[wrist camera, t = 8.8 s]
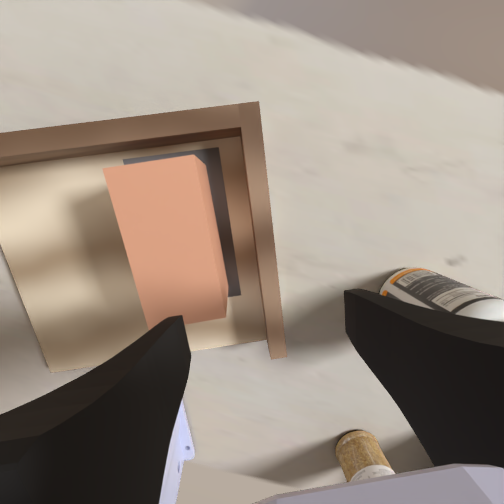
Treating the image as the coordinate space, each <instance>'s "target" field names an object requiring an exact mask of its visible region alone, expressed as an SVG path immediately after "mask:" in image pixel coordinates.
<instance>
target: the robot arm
mask: <svg viewBox="0 0 504 504" xmlns="http://www.w3.org/2000/svg"><path fill="white" fill-rule="evenodd" d="M344 302H345V327H346V333H347V335H348V337H349V339H350V340H351V342H352V344H353V346H354V347H355V349H356V351H357V352H358V353H359V355H360V356H361V357H362V359H363V360H364V361H365V363H366V364H367V365H368V367H369V368H370V369H371V371H372V372H373V373H374V375H375V376H376V377H377V378H378V380H379V381H380V382H381V384H382V385H383V386H384V388H385V389H386V390H387V391H388V393H389V394H390V395H391V397H392V398H393V400H394V401H395V402H396V404H397V405H398V407H399V408H400V410H401V411H402V413H403V415H404V416H405V418H406V419H407V421H408V422H409V424H410V426H411V427H412V429H413V430H414V432H415V434H416V435H417V437H418V439H419V440H420V442H421V444H422V445H423V447H424V449H425V450H426V452H427V454H428V455H429V457H430V459H431V460H432V462H433V464H434V465H435V467H432V468H426V469H421V470H415V471H409V472H403V473H398V474H392V475H386V476H380V477H375V478H369V479H363V480H357V481H352V482H346V483H340V484H335V485H329V486H323V487H317V488H312V489H306V490H300V491H294V492H289V493H283V494H277V495H274V496H271V497H269V498H266V499H263V500H261V501H258V502H255V503H253V504H504V322H501V321H494V320H487V319H480V318H473V317H467V316H462V315H457V314H452V313H447V312H442V311H438V310H433V309H429V308H425V307H422V306H418V305H414V304H410V303H407V302H404V301H400V300H397V299H394V298H390V297H387V296H384V295H381V294H377V293H374V292H370V291H367V290H362V289H352V290H345V291H344ZM190 361H191V352H190V348H189V343H188V338H187V334H186V329H185V325H184V320H183V316H182V315H178V316H171V317H167V318H166V319H164V320H162V321H161V322H160V323H158V324H157V325H156V326H154V327H153V328H152V329H150V330H149V331H148V332H146V333H145V334H144V335H143V336H141V337H140V338H139V339H137V340H136V341H135V342H133V343H132V344H130V345H129V346H128V347H126V348H125V349H123V350H122V351H120V352H119V353H118V354H116V355H115V356H113V357H112V358H110V359H109V360H107V361H106V362H104V363H102V364H101V365H99V366H98V367H96V368H94V369H93V370H91V371H89V372H87V373H86V374H84V375H82V376H80V377H79V378H77V379H75V380H73V381H71V382H69V383H67V384H65V385H63V386H61V387H59V388H57V389H56V390H54V391H52V392H50V393H48V394H46V395H44V396H41V397H39V398H37V399H35V400H33V401H31V402H28V403H26V404H24V405H22V406H19V407H17V408H15V409H13V410H10V411H8V412H6V413H3V414H1V415H0V504H176V500H177V495H178V489H179V484H180V479H181V474H182V469H183V463H184V461H186V460H191V459H193V458H194V456H195V450H194V446H193V441H192V437H191V433H190V429H189V425H188V421H187V417H186V413H185V409H184V405H183V401H182V398H183V394H184V390H185V387H186V383H187V380H188V375H189V369H190Z"/></svg>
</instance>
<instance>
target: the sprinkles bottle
mask: <svg viewBox="0 0 504 504" xmlns="http://www.w3.org/2000/svg"><path fill="white" fill-rule="evenodd" d="M335 453H336V457H337V459H338V461H339V463H340V464H341V467H342V469H343V472H344V474H345V477H346V480H347V482H352V481H357V480H363V479H369V478H375V477H380V476H386V475H392V474H395V472H394V471H393V470H392V468H391V466H390V464H389V463H388V461H387V459H386V458H385V456H384V454H383V452H382V450H381V449H380V447H379V444H378V441H377V440H376V438H375V436H373V435H372V434H370V433H368V432H366V431H354V432H350V433H348V434H346V435H344V436H343V437H342V438H341V439H340V440H339V442H338V443H337V446H336V449H335Z"/></svg>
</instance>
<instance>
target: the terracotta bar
mask: <svg viewBox="0 0 504 504" xmlns="http://www.w3.org/2000/svg"><path fill="white" fill-rule="evenodd" d="M102 169H103V173H104V176H105V180H106V183H107V187H108V190H109V194H110V197H111V201H112V204H113V208H114V211H115V215H116V218H117V222H118V225H119V228H120V232H121V235H122V239H123V242H124V246H125V249H126V253H127V256H128V260H129V263H130V267H131V270H132V274H133V277H134V281H135V284H136V288H137V291H138V294H139V298H140V301H141V305H142V308H143V312H144V315H145V319H146V322H147V326H148V329H149V330H150V329H152V328H153V327H154V326H156V325H157V324H158V323H160V322H161V321H162V320H164V319H166V318H167V317H171V316H178V315H182V316H183V320H184V325H186V324H192V323H198V322H203V321H209V320H215V319H221V318H226V312H227V299H228V280H227V275H226V270H225V264H224V259H223V254H222V248H221V243H220V238H219V232H218V227H217V222H216V216H215V211H214V206H213V200H212V195H211V190H210V184H209V179H208V174H207V168H206V165H205V164H204V163H203V162H202V161H201V160H200V159H198V158H197V157H196V156H195V155H187V156H180V157H174V158H167V159H161V160H154V161H147V162H141V163H134V164H128V165H121V166H115V167H108V168H102Z"/></svg>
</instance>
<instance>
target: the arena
mask: <svg viewBox="0 0 504 504" xmlns="http://www.w3.org/2000/svg"><path fill="white" fill-rule="evenodd" d="M187 155H195V156H196V157H197V158H198V159H200V160H201V161H202V162H203V163H204V164H205V165H206V168H207V174H208V179H209V184H210V190H211V195H212V200H213V206H214V211H215V216H216V222H217V227H218V232H219V238H220V243H221V248H222V254H223V259H224V264H225V270H226V275H227V280H228V299H227V312H226V318H221V319H215V320H209V321H203V322H198V323H192V324H186V325H185V329H186V334H187V338H188V343H189V348H190V351H196V350H203V349H209V348H216V347H222V346H229V345H235V344H242V343H248V342H255V341H261V340H267V343H268V348H269V352H270V357H271V359H277V358H283V357H287V352H286V343H285V334H284V325H283V316H282V307H281V298H280V289H279V279H278V270H277V261H276V252H275V243H274V234H273V225H272V216H271V207H270V198H269V188H268V179H267V170H266V161H265V152H264V143H263V134H262V125H261V116H260V107H259V101H257V102H249V103H241V104H233V105H224V106H216V107H208V108H200V109H192V110H184V111H176V112H168V113H159V114H151V115H143V116H135V117H127V118H119V119H111V120H102V121H94V122H86V123H78V124H70V125H62V126H54V127H46V128H37V129H29V130H21V131H13V132H5V133H0V245H1V247H2V250H3V252H4V255H5V257H6V260H7V263H8V265H9V268H10V270H11V273H12V275H13V278H14V280H15V283H16V285H17V288H18V291H19V293H20V296H21V298H22V301H23V303H24V306H25V308H26V311H27V313H28V316H29V319H30V321H31V324H32V326H33V329H34V331H35V334H36V336H37V339H38V341H39V344H40V347H41V349H42V352H43V354H44V357H45V359H46V362H47V364H48V367H49V369H50V372H51V373H53V372H60V371H66V370H73V369H79V368H86V367H92V366H99V365H101V364H102V363H104V362H106V361H107V360H109V359H110V358H112V357H113V356H115V355H116V354H118V353H119V352H120V351H122V350H123V349H125V348H126V347H128V346H129V345H130V344H132V343H133V342H135V341H136V340H137V339H139V338H140V337H141V336H143V335H144V334H145V333H146V332H148V331H149V329H148V326H147V322H146V319H145V315H144V312H143V308H142V305H141V301H140V298H139V294H138V291H137V288H136V284H135V281H134V277H133V274H132V270H131V267H130V263H129V260H128V256H127V253H126V249H125V246H124V242H123V239H122V235H121V232H120V228H119V225H118V222H117V218H116V215H115V211H114V208H113V204H112V201H111V197H110V194H109V190H108V187H107V183H106V180H105V176H104V173H103V169H102V168H108V167H115V166H121V165H128V164H134V163H141V162H147V161H154V160H161V159H167V158H174V157H180V156H187Z"/></svg>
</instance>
